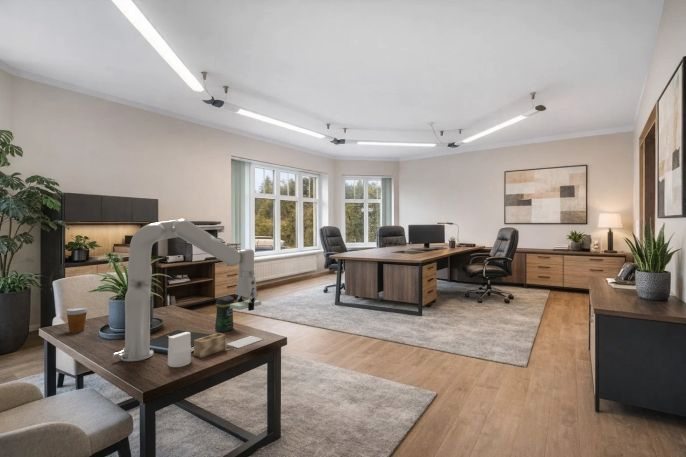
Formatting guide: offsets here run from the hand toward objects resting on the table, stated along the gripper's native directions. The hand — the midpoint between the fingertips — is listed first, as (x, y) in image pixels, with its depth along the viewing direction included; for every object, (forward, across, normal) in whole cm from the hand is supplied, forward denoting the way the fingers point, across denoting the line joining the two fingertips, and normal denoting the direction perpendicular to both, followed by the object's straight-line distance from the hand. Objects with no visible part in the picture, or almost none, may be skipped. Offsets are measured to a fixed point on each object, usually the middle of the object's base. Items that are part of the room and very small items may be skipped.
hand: (245, 308), depth 179 cm
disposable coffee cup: (+17, +85, +42) cm, 96 cm away
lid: (-1, 0, 0) cm, 1 cm away
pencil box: (+17, +2, +19) cm, 26 cm away
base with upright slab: (+17, +2, +34) cm, 38 cm away
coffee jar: (+17, +25, -7) cm, 31 cm away
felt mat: (+17, 0, 0) cm, 17 cm away
